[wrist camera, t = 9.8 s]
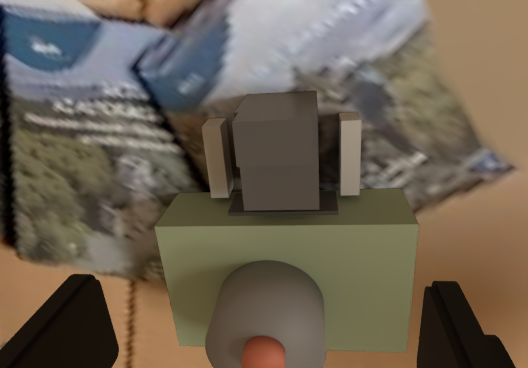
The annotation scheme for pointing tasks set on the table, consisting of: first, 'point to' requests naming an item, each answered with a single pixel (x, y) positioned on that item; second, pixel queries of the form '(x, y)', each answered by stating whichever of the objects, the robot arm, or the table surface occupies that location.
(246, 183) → the dark grey block
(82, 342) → the robot arm
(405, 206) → the green base with button
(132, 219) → the table surface
